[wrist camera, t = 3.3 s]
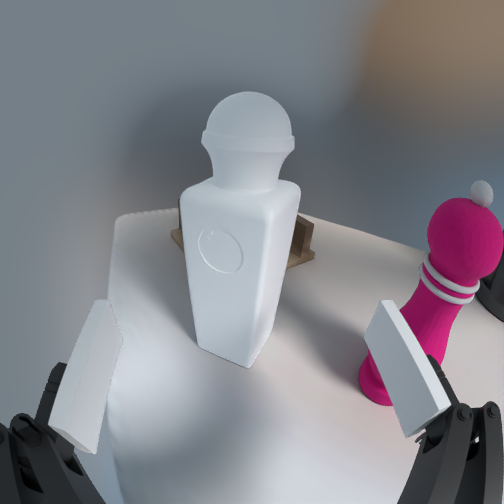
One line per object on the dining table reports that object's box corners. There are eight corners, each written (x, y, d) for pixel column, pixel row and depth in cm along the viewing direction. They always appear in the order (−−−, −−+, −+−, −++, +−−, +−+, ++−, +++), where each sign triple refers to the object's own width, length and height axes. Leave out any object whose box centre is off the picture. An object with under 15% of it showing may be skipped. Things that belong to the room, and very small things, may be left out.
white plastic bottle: (190, 348, 25) (177, 90, 13) (223, 308, 30) (231, 92, 19) (251, 375, 23) (285, 92, 11) (277, 329, 28) (314, 99, 17)
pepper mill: (341, 363, 24) (416, 154, 14) (394, 346, 26) (469, 169, 16) (373, 422, 19) (510, 203, 8) (427, 394, 20) (538, 210, 10)
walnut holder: (252, 216, 51) (255, 186, 48) (313, 258, 41) (321, 222, 37) (171, 235, 43) (169, 201, 40) (218, 293, 32) (218, 250, 29)
